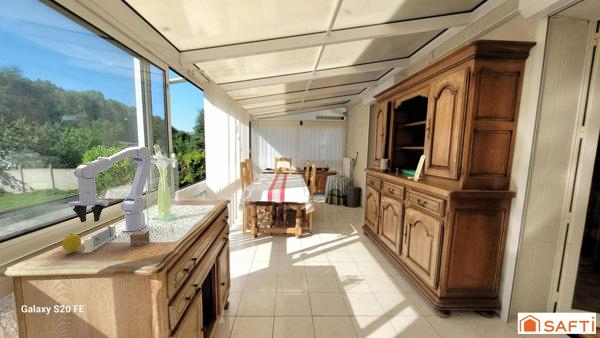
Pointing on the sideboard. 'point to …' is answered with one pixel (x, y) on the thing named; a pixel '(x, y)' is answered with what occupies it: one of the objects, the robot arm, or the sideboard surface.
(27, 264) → the sideboard surface
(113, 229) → the white bracket
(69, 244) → the lemon
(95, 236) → the door
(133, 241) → the brown block
